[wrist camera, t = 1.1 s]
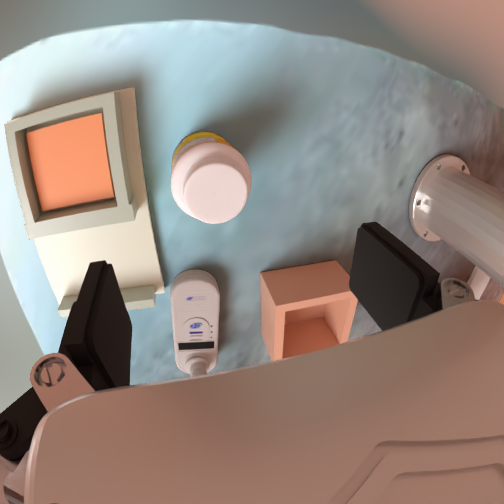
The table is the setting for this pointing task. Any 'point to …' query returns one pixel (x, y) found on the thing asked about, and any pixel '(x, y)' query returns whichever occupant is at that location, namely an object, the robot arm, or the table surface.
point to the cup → (305, 308)
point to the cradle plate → (71, 162)
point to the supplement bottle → (209, 178)
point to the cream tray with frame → (92, 206)
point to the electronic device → (195, 321)
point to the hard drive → (478, 282)
